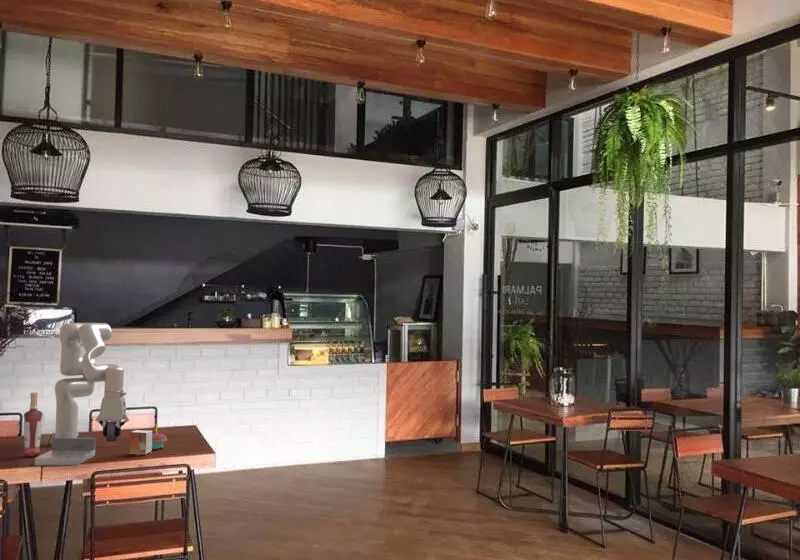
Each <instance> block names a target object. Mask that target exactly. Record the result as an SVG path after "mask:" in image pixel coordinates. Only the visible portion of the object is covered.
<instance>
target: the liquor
mask: <svg viewBox="0 0 800 560" xmlns="http://www.w3.org/2000/svg"><path fill="white" fill-rule="evenodd" d="M37 400H38V392H30V405H29V410H28V411H26V412H24V414H23V433H24V435H23V437H24V440H23V441H24V445H23V450H24V451H23V453H22V455H23V456H25V458H36V457H38V456H40V455H41V451H40V448H41V436H42V435H41V434H42V425H43V416H44V415H43V412H42V411H41V410H38V401H37Z"/></svg>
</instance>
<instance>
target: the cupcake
mask: <svg viewBox="0 0 800 560" xmlns="http://www.w3.org/2000/svg"><path fill="white" fill-rule="evenodd" d="M167 440H168V438H167V435H165V434H163V433H158V423H155V433H152V448H160V447H162V448H163V447H164V445H165V442H167Z"/></svg>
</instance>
